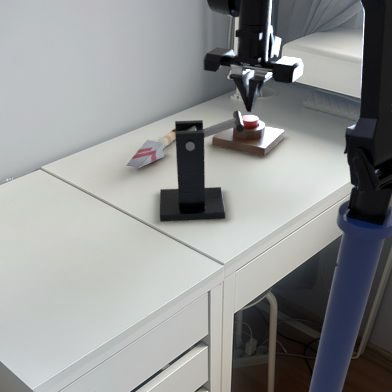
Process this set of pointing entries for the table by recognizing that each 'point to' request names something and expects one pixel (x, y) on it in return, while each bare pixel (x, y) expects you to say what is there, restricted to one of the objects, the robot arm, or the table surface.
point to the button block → (249, 139)
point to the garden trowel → (151, 151)
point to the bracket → (191, 180)
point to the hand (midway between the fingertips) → (249, 111)
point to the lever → (222, 126)
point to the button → (250, 121)
